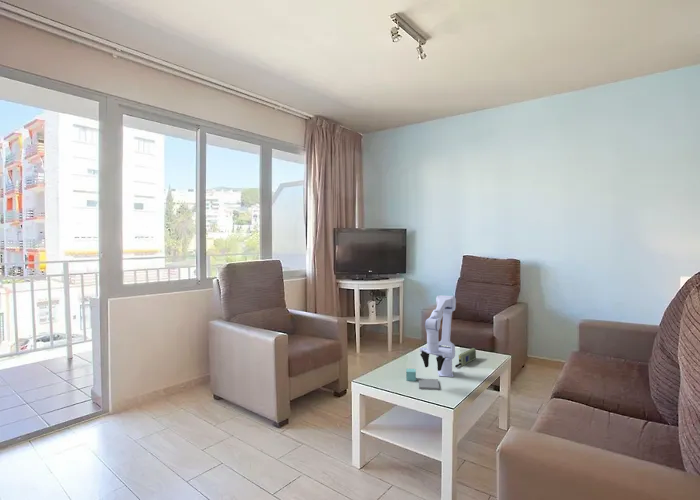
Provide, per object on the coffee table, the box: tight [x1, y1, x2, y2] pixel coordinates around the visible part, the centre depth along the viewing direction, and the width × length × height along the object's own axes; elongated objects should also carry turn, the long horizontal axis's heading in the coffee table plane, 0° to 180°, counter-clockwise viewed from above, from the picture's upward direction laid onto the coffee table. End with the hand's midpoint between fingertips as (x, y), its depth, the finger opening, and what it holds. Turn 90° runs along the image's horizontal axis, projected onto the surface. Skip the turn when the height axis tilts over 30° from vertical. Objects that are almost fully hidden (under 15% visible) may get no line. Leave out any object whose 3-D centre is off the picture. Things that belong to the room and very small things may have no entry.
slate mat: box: [418, 378, 440, 391], centre depth 194 cm, size 12×10×1 cm
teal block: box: [405, 368, 417, 382], centre depth 202 cm, size 5×5×5 cm
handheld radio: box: [455, 347, 477, 368], centre depth 228 cm, size 7×3×25 cm
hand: (433, 368), depth 190 cm, fingers open, 7 cm apart
